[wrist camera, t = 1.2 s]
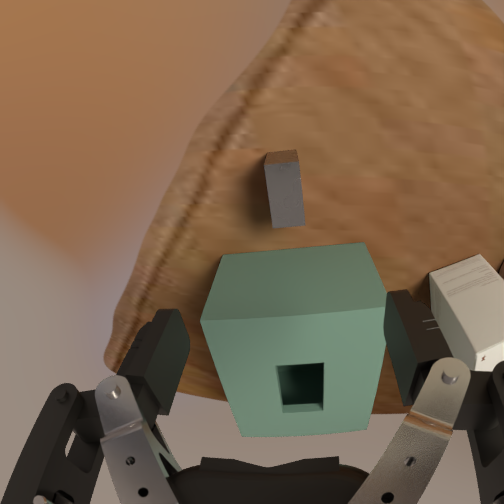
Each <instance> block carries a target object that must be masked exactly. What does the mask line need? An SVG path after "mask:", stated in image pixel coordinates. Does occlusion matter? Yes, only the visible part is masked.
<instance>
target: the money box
mask: <svg viewBox="0 0 504 504" xmlns="http://www.w3.org/2000/svg"><path fill="white" fill-rule="evenodd" d="M386 296H387V293H386V290H385V288H384V286H383V283H382V281H381V279H380V276H379V274H378V272H377V270H376V267H375V265H374V263H373V261H372V258H371V256H370V254H369V252H368V250H367V248H366V245H365V243H364V242H361V243H350V244H339V245H328V246H317V247H306V248H294V249H283V250H272V251H261V252H250V253H239V254H228V255H223V256H222V259H221V261H220V264H219V267H218V270H217V273H216V276H215V278H214V281H213V284H212V287H211V290H210V293H209V295H208V298H207V301H206V304H205V307H204V310H203V313H202V316H201V319H200V323H201V326H202V329H203V332H204V335H205V338H206V341H207V344H208V347H209V350H210V352H211V355H212V358H213V361H214V364H215V367H216V369H217V372H218V375H219V378H220V381H221V383H222V386H223V389H224V391H225V394H226V397H227V399H228V402H229V405H230V407H231V410H232V412H233V415H234V418H235V420H236V423H237V425H238V428H239V430H240V433H241V435H242V436H243V437H279V436H305V435H319V434H331V433H341V432H351V431H359V430H366V429H367V426H368V423H369V419H370V415H371V411H372V407H373V403H374V399H375V395H376V391H377V386H378V382H379V377H380V373H381V368H382V363H383V357H384V352H385V347H386V341H385V337H384V329H383V324H384V315H385V306H386Z"/></svg>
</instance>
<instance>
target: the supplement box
mask: <svg viewBox="0 0 504 504" xmlns="http://www.w3.org/2000/svg"><path fill="white" fill-rule="evenodd" d="M429 281H430V295H431V312H432V314H433V316H434V317H435V321H437V323H438V325H439V329H441V331H442V334H443V336H444V338H445V340H446V342H447V344H448V346H449V348H450V350H451V353H452V355H453V357H454V358H456V359H459V360H461V361H463V362H464V363H465V364H466V365H467V366H468V368H469V370H473V371H493V369H494V367H495V366H496V364H498V363H499V362H501V361H504V280H503V279H502V278H501V277H500V275H499V274H498V273H497V272H496V271H495V270H494V269H493V268H492V267H491V266H490V264H489V263H488V262H487V261H486V260H485V259H484V258H483V257H482V256H481V255H480V254H478V255H475V256H473V257H471V258H468V259H465V260H463V261H460V262H458V263H455V264H452V265H450V266H447V267H444V268H442V269H439V270H436V271H433V272H430V273H429Z"/></svg>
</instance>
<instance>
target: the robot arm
mask: <svg viewBox="0 0 504 504" xmlns="http://www.w3.org/2000/svg"><path fill="white" fill-rule="evenodd" d="M499 275H500V277H501V278H502V279H503V280H504V262H503V264H502V266H501V269H500V272H499ZM383 329H384V337H385V341H386V344H387V347H388V351H389V354H390V358H391V361H392V365H393V368H394V372H395V375H396V379H397V383H398V386H399V390H400V394H401V398H402V402H403V406H408V405H413V407H412V409H411V410H410V412H409V414H407V416H406V417H405V419H404V421H403V422H402V424H401V426H400V427H399V429H398V431H397V432H396V434H395V436H394V437H393V439H392V441H391V442H390V444H389V446H388V447H387V449H386V451H385V452H384V453H383V455H382V457H381V458H380V460H379V461H378V463H377V464H376V466H375V467H374V469H373V470H372V471H371V473H370V474H369V473H367V472H365V471H363V470H361V469H358V468H356V467H352V466H348V465H342V464H339V456H337V457H326V458H314V459H302V460H299V461H295V462H291V463H287V464H283V465H279V466H274V467H262V466H258V465H254V464H250V463H246V462H242V461H238V460H235V459H221V458H208V457H202V459H201V464H200V465H197V466H193V467H190V468H186V469H183V470H182V469H181V467H180V466H179V464H178V463H177V461H176V460H175V458H174V457H173V455H172V453H171V451H170V449H169V447H168V445H167V443H166V441H165V439H164V437H163V435H162V432H161V430H160V428H159V426H158V424H157V422H156V418H157V415H158V414H159V415H169V412H170V409H171V406H172V403H173V400H174V396H175V393H176V390H177V387H178V384H179V381H180V378H181V375H182V372H183V369H184V366H185V363H186V360H187V357H188V354H189V351H190V339H189V335H188V333H187V330H186V328H185V325H184V322H183V320H182V317H181V314H180V312H179V310H178V309H159V310H158V311H157V312H156V314H155V316H154V318H153V320H152V322H147V323H146V324H145V325H144V326H143V327H142V328H141V329H140V330H139V332H138V333H137V335H136V337H135V339H134V340H135V341H133V343H132V345H131V349H129V351H128V353H127V354H126V356H125V358H124V360H123V362H122V364H121V366H120V368H119V370H118V372H117V374H116V375H115V376H110V377H108V378H106V379H104V380H103V381H101V382H100V383H99V385H98V386H97V388H96V390H90V391H84V392H79V391H78V390H77V389H76V387H75V386H74V385H73V384H70V383H64V384H61V385H59V386H57V387H56V388H54V389H53V390H52V392H51V393H50V395H49V397H48V399H47V401H46V402H45V405H44V406H43V408H42V410H41V412H40V414H39V417H38V418H37V420H36V422H35V424H34V427H33V429H32V431H31V433H30V435H29V437H28V439H27V441H26V444H25V446H24V448H23V450H22V452H21V455H20V457H19V459H18V461H17V464H16V466H15V469H14V471H13V473H12V475H11V478H10V481H9V483H8V485H7V488H6V491H5V493H4V496H3V499H2V501H1V504H90V501H91V497H92V494H93V491H94V487H95V484H96V481H97V478H98V474H99V471H100V468H101V465H102V462H103V459H104V457H105V459H106V463H107V466H108V469H109V472H110V475H111V478H112V481H113V484H114V486H115V489H116V492H117V495H118V497H119V500H120V503H121V504H417V503H418V501H419V499H420V498H421V496H422V494H423V492H424V491H425V489H426V487H427V485H428V483H429V482H430V480H431V478H432V476H433V474H434V472H435V470H436V468H437V466H438V464H439V462H440V460H441V458H442V456H443V454H444V452H445V449H446V447H447V445H448V443H449V440H450V438H451V435H452V432H453V430H467V434H468V438H469V442H470V446H471V451H472V456H473V460H474V465H475V470H476V476H477V482H478V488H479V494H480V501H481V504H504V361H501V362H499V363H498V364H496V366H495V367H494V369H493V371H473V370H469V368H468V366H467V365H466V364H465V363H464V362H463V361H461V360H459V359H456V358H454V357H453V355H452V353H451V350H450V348H449V346H448V344H447V342H446V340H445V338H444V336H443V334H442V331H441V329H439V325H438V323H437V321H435V317H434V316H433V314H432V312H431V310H430V308H428V307H427V306H426V305H425V304H424V303H422V302H421V301H417V302H413V300H412V298H411V296H410V294H409V292H408V290H406V289H405V290H398V291H390V292H388V293H387V296H386V306H385V315H384V324H383ZM72 431H73V432H74V433H75V434H76V436H75V438H74V441H73V443H72V446H71V448H70V451H69V453H68V456H67V457H66V455H65V448H66V445H67V443H68V440H69V438H70V435H71V433H72Z"/></svg>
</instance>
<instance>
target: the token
mask: <svg viewBox="0 0 504 504" xmlns="http://www.w3.org/2000/svg"><path fill="white" fill-rule="evenodd" d="M264 169H265V176H266V183H267V190H268V197H269V204H270V211H271V218H272V226H273V228H282V227H293V226H304V225H305V216H304V206H303V196H302V186H301V177H300V168H299V160H298V155H297V151H296V150H287V151H278V152H269V153H267V156H266V159H265V163H264Z"/></svg>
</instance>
